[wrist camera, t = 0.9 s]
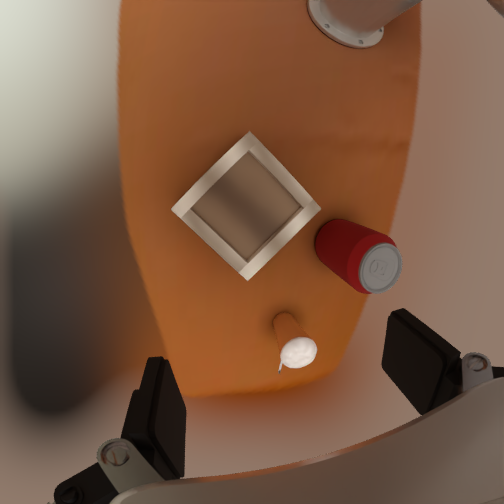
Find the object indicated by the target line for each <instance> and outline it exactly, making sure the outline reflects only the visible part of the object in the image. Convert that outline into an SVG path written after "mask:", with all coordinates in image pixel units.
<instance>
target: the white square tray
mask: <svg viewBox="0 0 504 504" xmlns="http://www.w3.org/2000/svg"><path fill="white" fill-rule="evenodd" d="M320 209H321V208H320V207H319V205H318V204H317V203H316V202H315V201H314V200H313V199H312V197H311V196H310V195H309V194H308V193H307V192H306V191H305V189H304V188H303V187H302V186H301V185H300V184H299V183H298V182H297V181H296V179H295V178H294V177H293V176H292V175H291V174H290V173H289V172H288V171H287V170H286V169H285V167H284V166H283V165H282V164H281V163H280V162H279V161H278V160H277V159H276V158H275V157H274V156H273V155H272V154H271V153H270V152H269V151H268V150H267V148H266V147H265V146H264V145H263V144H262V143H261V142H260V141H259V140H258V139H257V138H256V137H255V136H254V135H253V134H252V133H251V132H250V131H249V132H248V133H247V134H246V135H245V136H244V137H243V138H241V139H240V140H239V141H238V142H237V143H236V144H235V145H234V146H233V147H232V148H231V149H230V150H229V151H228V152H227V153H225V154H224V155H223V156H222V157H221V158H220V159H219V160H218V161H217V162H216V163H215V164H214V165H213V166H212V167H211V168H210V169H209V170H208V171H207V172H206V173H205V174H204V175H203V176H202V177H201V178H200V179H199V180H198V181H197V182H196V183H195V184H194V185H193V186H192V187H191V188H190V189H189V190H188V191H187V192H186V193H185V195H184V196H183V197H182V198H181V199H180V200H179V201H178V202H177V203H176V204H175V205H174V206H173V207H172V208H171V210H172V211H173V212H174V213H175V214H176V215H177V216H178V217H180V218H181V219H182V220H183V221H184V222H185V223H186V224H187V225H188V226H189V227H190V228H191V229H192V230H193V231H194V232H195V233H196V234H197V235H199V236H200V237H201V238H202V239H203V240H204V241H205V242H206V243H207V244H208V245H209V246H210V247H211V248H212V249H213V250H215V251H216V252H217V253H218V254H219V255H220V256H221V257H222V258H223V259H224V260H225V261H226V262H227V263H229V264H230V265H231V266H232V267H233V268H234V269H235V270H236V271H237V272H238V273H239V274H241V275H242V276H243V277H244V278H245V279H246V280H247V281H248V280H249V279H250V278H251V277H252V276H253V275H254V274H255V273H256V272H257V271H258V270H260V269H261V268H262V267H263V266H264V265H265V264H266V263H267V262H268V261H269V260H270V259H271V258H272V257H273V256H274V255H275V254H276V253H277V252H278V251H279V250H280V249H281V248H282V247H283V246H284V245H285V244H286V243H287V242H288V241H289V240H290V239H291V238H292V237H293V236H294V235H295V234H296V233H297V232H298V231H299V230H300V229H301V228H302V227H303V226H304V225H305V224H306V223H307V222H308V221H309V220H310V219H311V218H312V217H313V216H314V215H315V214H316V213H317V212H318V211H319V210H320Z"/></svg>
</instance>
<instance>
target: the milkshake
mask: <svg viewBox="0 0 504 504" xmlns="http://www.w3.org/2000/svg"><path fill="white" fill-rule="evenodd" d="M273 328H274V332H275V336H276V340H277V343H278V348H279V353H280V357H281V363H280V367H279V371H278V373H279V374H280V371H281V367H282V363H283V364H284V365H286V366H287V367H290V368H301V367H303V366H306V365H308V364H310V363H311V362H312V361H313V360H314V358H315V355H316V352H317V347H316V344H315V343H314V341H313V340H312V339H311V338H310V337H309V335H308V334H307V333H306V332H305V331H304V330H303V329H302V327H301V326H300V325H299V323H298V322H297V321H296V319H295V318H294V317H293V316H292V315H291V314H290V313H284V312H283V313H281V314H278V315H277V316H276V317H275V318H274V320H273Z"/></svg>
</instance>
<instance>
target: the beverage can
mask: <svg viewBox="0 0 504 504" xmlns="http://www.w3.org/2000/svg"><path fill="white" fill-rule="evenodd" d="M315 247H316V253H317V255H318V257H319V259H320V260H321V261H322V262H323V263H324V264H325V265H326V266H327V267H328V268H330V269H331V270H332V271H333V272H334V273H336V274H337V275H338V276H339V277H340V278H342V279H343V280H344V281H345V282H347V283H348V284H349V285H350V286H352V287H353V288H354V289H355V290H357V291H359V292H361V293H365V294H371V293H375V294H377V293H382V292H385V291H387V290H388V289H390V288H391V287H392V286H393V285H394V284H395V283H396V281H397V280H398V278H399V276H400V273H401V270H402V257H401V254H400V252H399V250H398V249H397V247H396V245H395V243H394V242H393V240H392V239H391V238H390V237H388V236H387V235H384V234H382V233H380V232H377V231H375V230H372V229H369V228H367V227H364V226H361V225H359V224H356V223H353V222H350V221H347V220H343V219H336V220H333V221H330V222H328V223H327V224H325V225H324V226H323V227H322V228H321V230H320V231H319V233H318V235H317V238H316V244H315Z"/></svg>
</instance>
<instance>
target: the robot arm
mask: <svg viewBox="0 0 504 504" xmlns="http://www.w3.org/2000/svg"><path fill="white" fill-rule="evenodd" d="M420 1H422V0H308V2H307V9H308V12H309V15H310V17H311V19H312V21H313V22H314V23H315V24H316V26H317V27H318V28H319V29H320V30H321V31H322V32H323V33H325V34H326V35H327V36H328V37H330V38H331V39H333V40H335V41H336V42H339V43H341V44H343V45H346V46H349V47H353V48H369V47H372V46H373V45H375V44H377V43H378V42H379V41H380V40H381V39H382V36H383V34H384V25H386V24H387V23H389V22H390V21H392V20H393V19H394V18H396V17H397V16H399V15H400V14H402V13H403V12H405V11H406V10H408V9H409V8H411V7H413V6H414V5H416V4H417V3H419V2H420ZM487 1H488V3H489V4H490V5H491V6H492V7H493V8H494V9H495V10H496V11H497V12H498V13H499V14H500V15H501V16H502V17H503V18H504V0H487ZM460 354H461V352H460V351H458V350H457V349H456V348H455V347H453V346H452V345H451V344H450V343H448V342H447V341H446V340H445V339H443V338H442V337H441V336H440V335H438V334H437V333H436V332H435V331H433V330H432V329H431V328H429V327H428V326H427V325H426V324H424V323H423V322H421V321H420V320H419V319H418V318H416V317H415V316H414V315H412V314H411V313H410V312H408V311H407V310H406V309H404V308H402V309H399V310H395V311H392V312H391V314H390V316H389V317H388V321H387V330H386V337H385V344H384V351H383V357H382V368H383V370H384V371H385V372H386V374H388V376H389V377H390V378H391V380H392V381H393V382H394V383H395V384H396V386H398V388H399V389H400V390H401V392H402V393H403V394H404V395H405V396H406V398H407V399H408V400H409V401H410V403H411V404H412V405H413V406H414V407H415V409H416V410H417V411H418V412H419V414H421V415H422V416H420V417H418V418H416V419H414V420H412V421H410V422H408V423H406V424H404V425H402V426H399V427H397V428H395V429H393V430H390V431H388V432H386V433H384V434H381V435H379V436H376V437H374V438H371V439H369V440H366V441H364V442H361V443H358V444H355V445H353V446H350V447H347V448H344V449H341V450H338V451H335V452H331V453H328V454H325V455H322V456H318V457H314V458H311V459H307V460H303V461H299V462H295V463H291V464H287V465H282V466H277V467H272V468H267V469H261V470H255V471H249V472H242V473H235V474H228V475H219V476H209V477H198V478H187V479H180V477H184V467H185V465H184V464H185V433H186V407H185V404H184V401H183V398H182V396H181V393H180V391H179V388H178V385H177V383H176V380H175V377H174V374H173V372H172V369H171V366H170V363H169V361H168V360H164V358H163V357H161V356H160V357H149V358H148V360H147V363H146V367H145V370H144V374H143V377H142V381H141V385H140V388H139V390H134V391H133V393H132V397H131V401H130V404H129V407H128V411H127V415H126V418H125V422H124V426H123V430H122V434H121V438H115V439H110V440H108V441H106V442H104V443H103V444H102V445H101V446H100V447H99V448H98V451H97V460H98V462H97V463H95V464H94V465H92V466H90V467H88V468H87V469H85V470H83V471H81V472H80V473H78V474H76V475H74V476H72V477H71V478H69V479H67V480H65V481H63V482H62V483H60V484H59V485H58V486H57V488H56V489H55V492H54V500H55V501H54V502H53V503H52V504H504V367H493V366H491V362H490V360H489V359H488V358H487V357H486V356H485V355H483V354H481V353H476V352H473V353H468V354H466V355H465V356H464V357H463V358H462V359H461V358H460ZM47 504H51V503H49V502H48V503H47Z"/></svg>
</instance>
